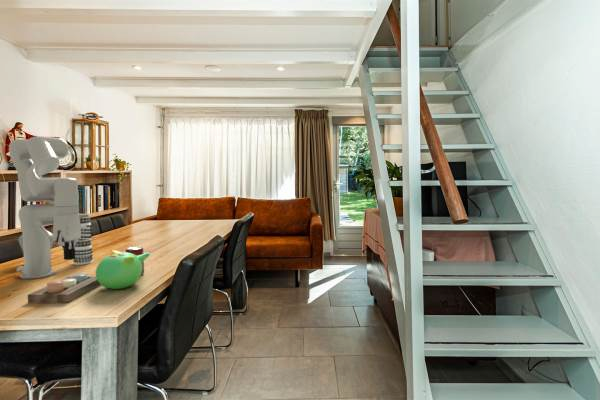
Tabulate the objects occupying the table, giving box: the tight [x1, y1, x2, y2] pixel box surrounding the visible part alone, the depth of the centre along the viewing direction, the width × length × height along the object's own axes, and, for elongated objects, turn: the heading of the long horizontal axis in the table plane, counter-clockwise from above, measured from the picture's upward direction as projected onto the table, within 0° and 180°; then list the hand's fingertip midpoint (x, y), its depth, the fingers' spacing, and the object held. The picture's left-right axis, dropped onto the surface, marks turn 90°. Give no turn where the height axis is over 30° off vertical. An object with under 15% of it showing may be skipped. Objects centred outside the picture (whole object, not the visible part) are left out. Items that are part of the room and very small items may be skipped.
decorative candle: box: [72, 213, 94, 266], centre depth 178 cm, size 9×9×25 cm
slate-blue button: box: [71, 273, 88, 282], centre depth 139 cm, size 5×5×4 cm
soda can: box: [124, 246, 145, 276], centre depth 155 cm, size 7×7×12 cm
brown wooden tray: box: [27, 275, 102, 304], centre depth 132 cm, size 14×22×3 cm, turn 1°
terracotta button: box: [46, 279, 64, 294], centre depth 125 cm, size 5×5×4 cm
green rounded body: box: [95, 249, 151, 290], centre depth 137 cm, size 18×17×15 cm
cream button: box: [61, 279, 77, 287], centre depth 132 cm, size 5×5×4 cm
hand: (69, 259), depth 132 cm, fingers closed
